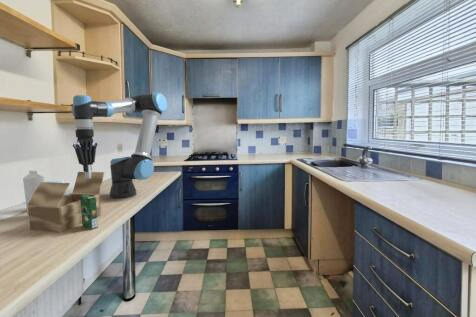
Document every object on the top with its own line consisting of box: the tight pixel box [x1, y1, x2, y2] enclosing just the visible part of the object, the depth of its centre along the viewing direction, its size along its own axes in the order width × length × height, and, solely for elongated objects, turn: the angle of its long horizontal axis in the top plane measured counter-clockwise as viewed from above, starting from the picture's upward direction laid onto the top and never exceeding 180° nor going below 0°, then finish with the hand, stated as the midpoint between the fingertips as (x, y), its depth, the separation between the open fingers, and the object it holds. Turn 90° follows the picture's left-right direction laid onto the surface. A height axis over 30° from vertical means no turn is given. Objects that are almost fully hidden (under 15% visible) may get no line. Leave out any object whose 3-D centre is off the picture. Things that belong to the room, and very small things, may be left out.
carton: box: [28, 192, 102, 233], centre depth 126 cm, size 22×16×10 cm
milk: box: [22, 170, 46, 219], centre depth 135 cm, size 6×6×22 cm
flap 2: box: [72, 171, 105, 195], centre depth 137 cm, size 10×15×1 cm
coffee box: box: [80, 195, 99, 230], centre depth 118 cm, size 8×3×13 cm, turn 54°
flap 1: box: [28, 182, 70, 207], centre depth 117 cm, size 10×15×1 cm
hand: (88, 178), depth 137 cm, fingers closed
